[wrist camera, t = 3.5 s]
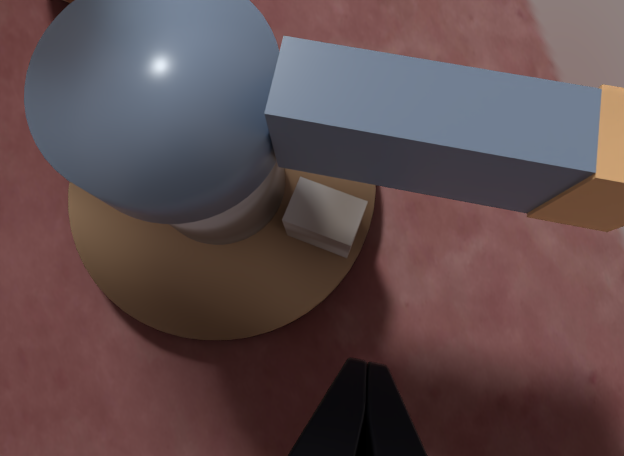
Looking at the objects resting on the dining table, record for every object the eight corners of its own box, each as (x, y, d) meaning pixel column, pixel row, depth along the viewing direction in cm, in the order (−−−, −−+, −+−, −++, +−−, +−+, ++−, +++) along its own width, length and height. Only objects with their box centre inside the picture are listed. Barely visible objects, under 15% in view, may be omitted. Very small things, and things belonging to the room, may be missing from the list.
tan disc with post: (343, 369, 17) (355, 388, 11) (41, 305, 18) (-103, 290, 12) (394, 84, 20) (426, -27, 14) (129, 38, 20) (49, -85, 14)
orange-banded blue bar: (40, 200, 12) (-54, 155, 9) (107, 8, 13) (45, -88, 10) (599, 311, 11) (703, 303, 8) (614, 92, 12) (706, 14, 9)
